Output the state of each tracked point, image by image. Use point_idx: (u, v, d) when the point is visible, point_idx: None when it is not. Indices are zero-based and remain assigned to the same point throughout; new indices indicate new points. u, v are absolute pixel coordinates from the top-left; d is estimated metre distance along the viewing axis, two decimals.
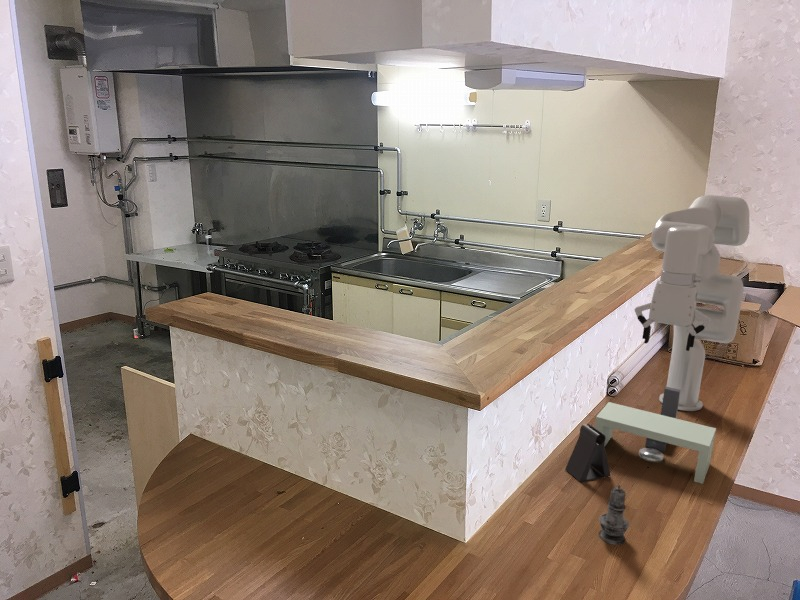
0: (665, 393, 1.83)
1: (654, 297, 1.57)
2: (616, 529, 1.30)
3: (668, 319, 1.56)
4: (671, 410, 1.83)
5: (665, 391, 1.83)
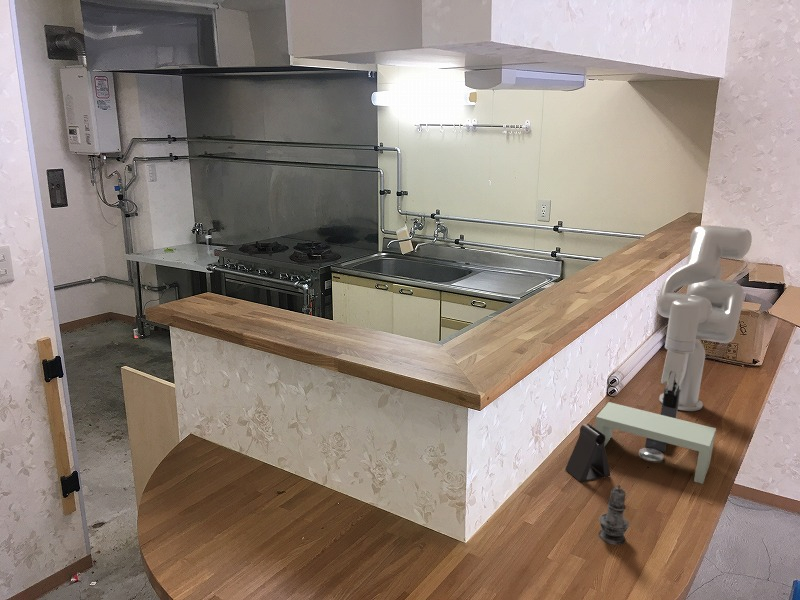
0: None
1: (682, 366, 1.76)
2: (616, 529, 1.30)
3: (681, 379, 1.80)
4: (671, 410, 1.83)
5: (665, 391, 1.83)
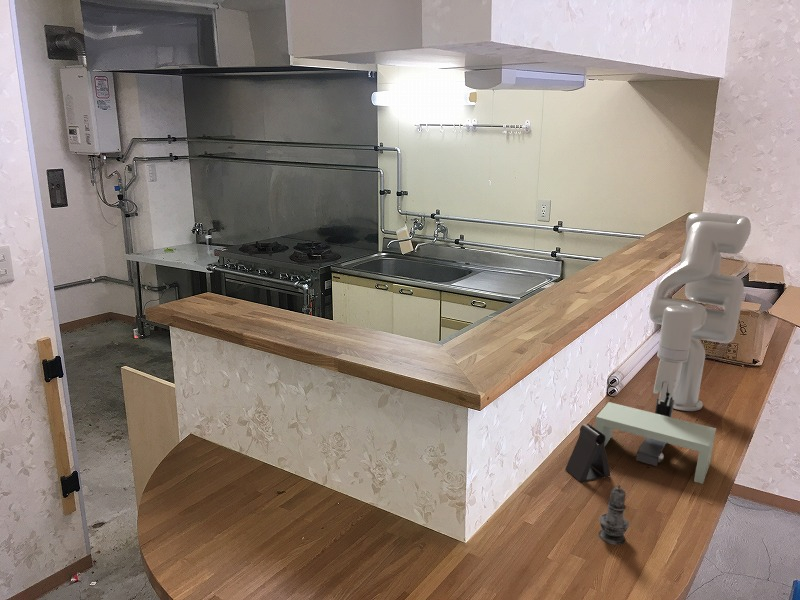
0: None
1: (675, 376, 1.67)
2: (616, 529, 1.30)
3: (675, 389, 1.72)
4: None
5: None
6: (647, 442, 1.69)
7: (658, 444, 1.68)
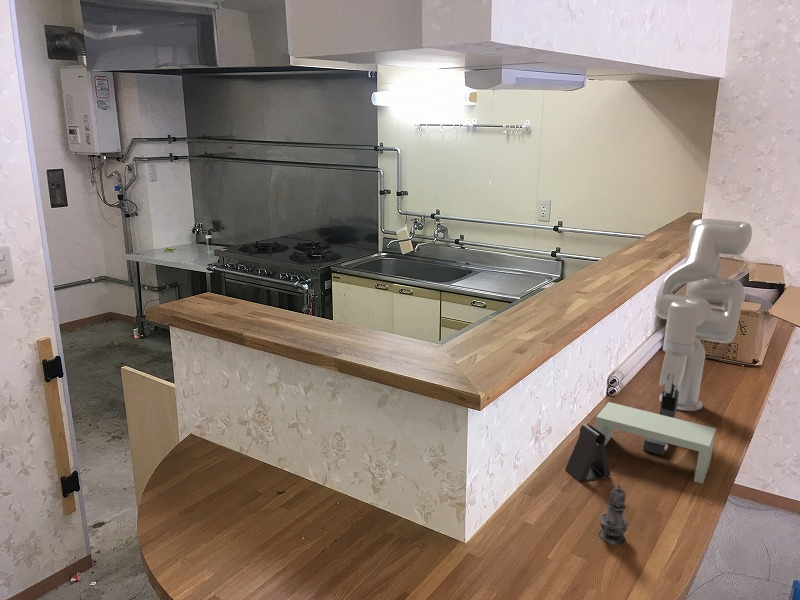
0: None
1: (680, 369, 1.74)
2: (616, 529, 1.30)
3: (680, 382, 1.78)
4: (669, 412, 1.81)
5: (663, 393, 1.81)
6: None
7: None
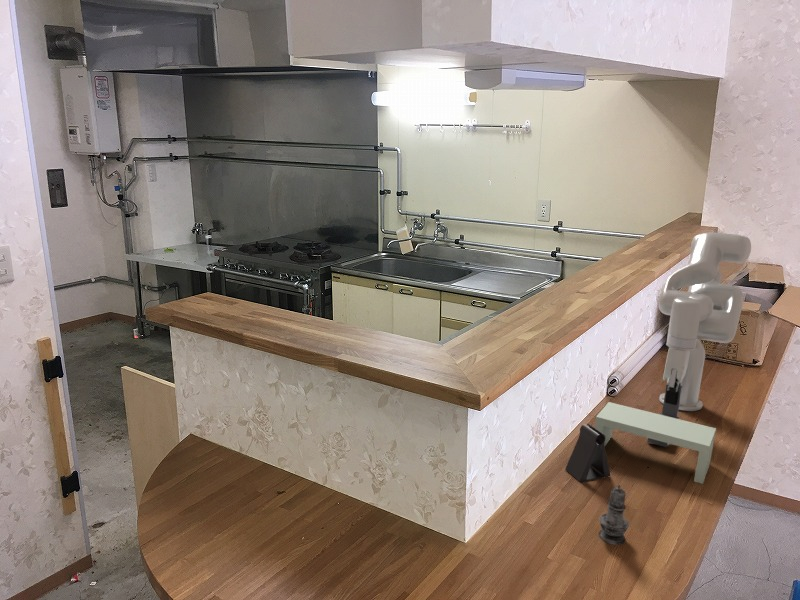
0: None
1: (683, 364, 1.78)
2: (616, 529, 1.30)
3: (683, 376, 1.82)
4: (673, 406, 1.85)
5: (667, 387, 1.84)
6: None
7: None
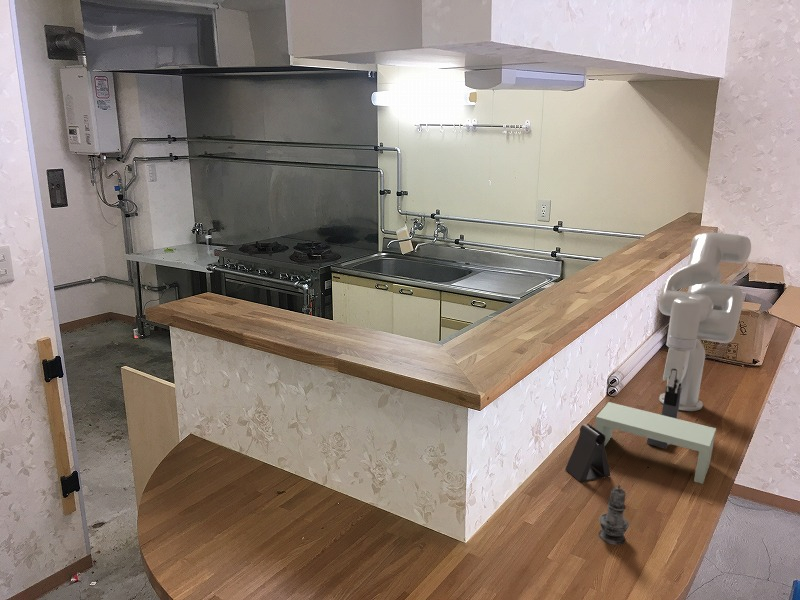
0: None
1: (683, 364, 1.78)
2: (616, 529, 1.30)
3: (683, 377, 1.82)
4: (672, 408, 1.85)
5: (666, 389, 1.85)
6: None
7: None
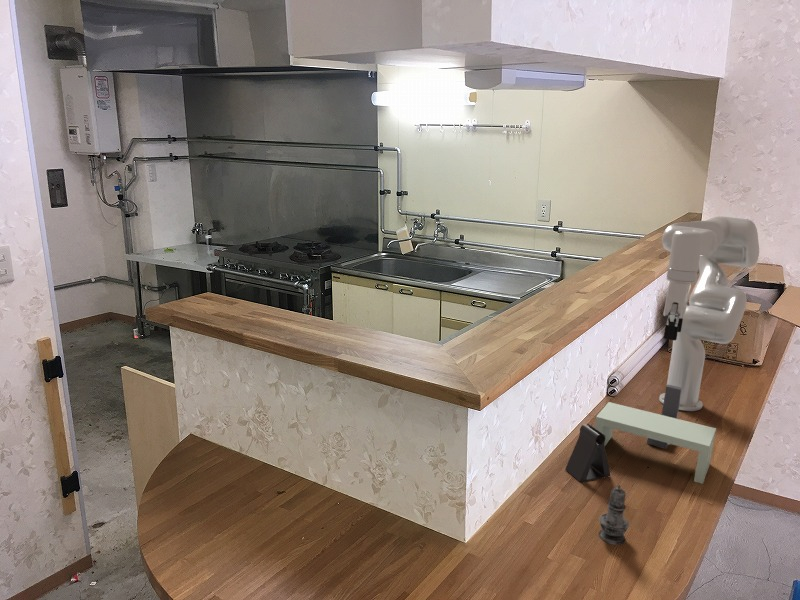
0: (666, 391, 1.85)
1: (685, 297, 1.73)
2: (616, 529, 1.30)
3: (683, 312, 1.78)
4: (672, 408, 1.85)
5: (667, 389, 1.85)
6: None
7: None
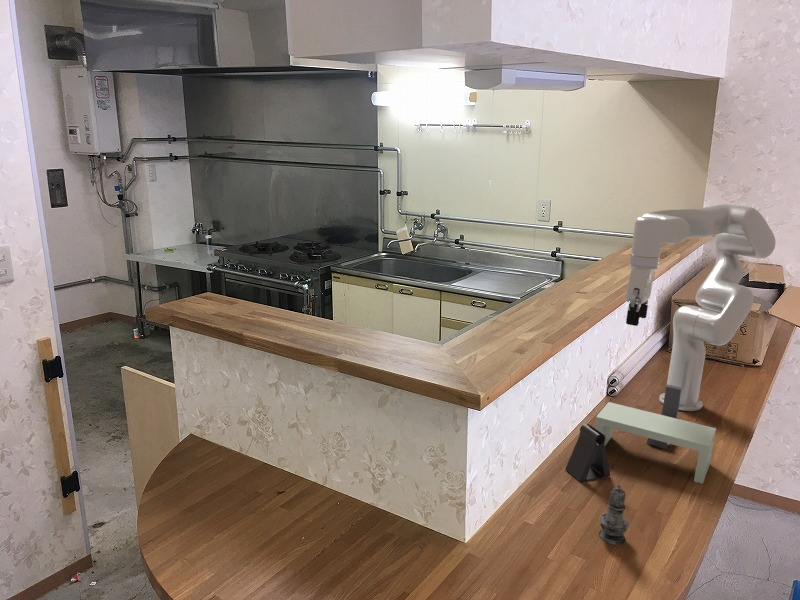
0: (666, 391, 1.85)
1: (646, 283, 1.75)
2: (616, 529, 1.30)
3: (646, 298, 1.80)
4: (672, 408, 1.85)
5: (667, 389, 1.85)
6: None
7: None
